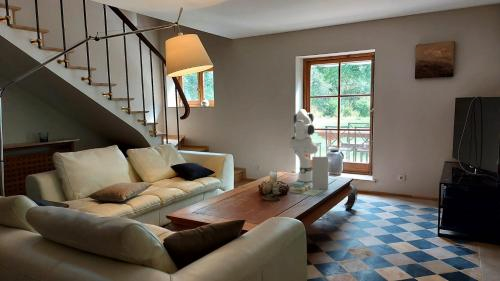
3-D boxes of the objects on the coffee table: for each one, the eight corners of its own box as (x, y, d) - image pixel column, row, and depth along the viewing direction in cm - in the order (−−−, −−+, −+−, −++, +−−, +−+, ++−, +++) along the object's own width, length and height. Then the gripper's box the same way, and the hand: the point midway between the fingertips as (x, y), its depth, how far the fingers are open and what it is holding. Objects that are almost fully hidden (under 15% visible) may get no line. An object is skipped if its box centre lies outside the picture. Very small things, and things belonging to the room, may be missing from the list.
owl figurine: (284, 199, 297) (283, 179, 295) (276, 202, 287) (275, 182, 285) (266, 196, 308) (266, 177, 306) (258, 199, 299) (258, 179, 297)
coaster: (297, 185, 329) (297, 181, 329) (305, 186, 325) (305, 182, 324) (293, 186, 323) (293, 183, 323) (301, 187, 318) (301, 184, 318)
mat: (311, 189, 328) (311, 188, 328) (323, 190, 321) (323, 190, 321) (302, 194, 311) (302, 193, 311) (314, 195, 305) (314, 195, 304)
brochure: (327, 187, 333) (327, 156, 330) (328, 188, 328) (328, 157, 325) (312, 187, 335) (312, 156, 331) (312, 188, 329) (312, 157, 326)
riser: (299, 187, 334) (298, 183, 334) (310, 189, 327) (310, 185, 327) (289, 192, 320) (289, 187, 319) (301, 193, 313) (301, 189, 312)
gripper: (311, 137, 322) (312, 152, 321) (290, 138, 328) (290, 152, 327) (311, 136, 316) (311, 152, 315) (288, 137, 322) (289, 152, 321)
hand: (300, 152), depth 321 cm, fingers open, 8 cm apart
